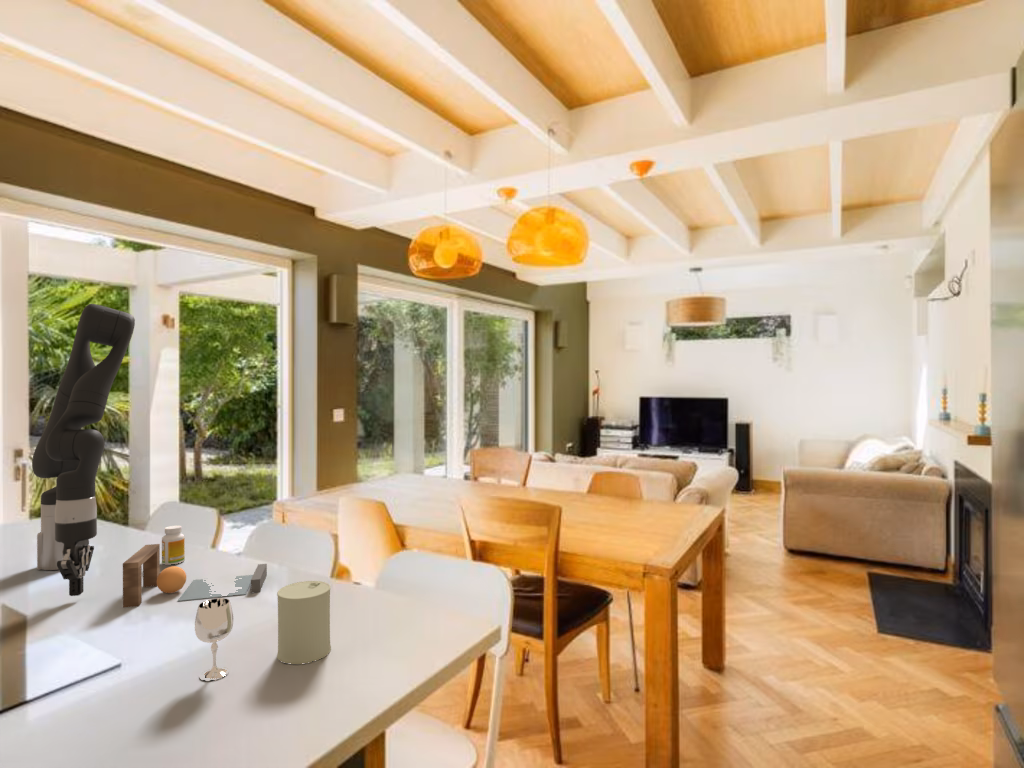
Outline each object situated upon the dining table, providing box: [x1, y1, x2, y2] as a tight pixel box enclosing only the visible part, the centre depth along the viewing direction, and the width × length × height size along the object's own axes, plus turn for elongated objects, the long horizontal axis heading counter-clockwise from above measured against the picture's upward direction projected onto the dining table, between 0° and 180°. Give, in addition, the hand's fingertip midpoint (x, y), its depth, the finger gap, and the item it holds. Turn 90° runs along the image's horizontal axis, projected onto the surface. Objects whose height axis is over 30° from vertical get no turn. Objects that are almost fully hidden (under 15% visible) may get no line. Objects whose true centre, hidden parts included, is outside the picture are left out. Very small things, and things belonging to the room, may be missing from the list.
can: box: [276, 580, 332, 665], centre depth 103 cm, size 9×9×12 cm
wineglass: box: [194, 597, 234, 679], centre depth 95 cm, size 6×6×12 cm
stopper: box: [250, 563, 268, 594], centre depth 139 cm, size 2×12×3 cm, turn 17°
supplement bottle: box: [161, 525, 186, 566], centre depth 156 cm, size 5×5×10 cm
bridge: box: [122, 543, 161, 609], centre depth 132 cm, size 3×15×10 cm, turn 17°
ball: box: [156, 565, 187, 594], centre depth 133 cm, size 6×6×6 cm
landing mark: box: [177, 574, 253, 602], centre depth 136 cm, size 14×14×1 cm
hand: (76, 594), depth 128 cm, fingers closed
